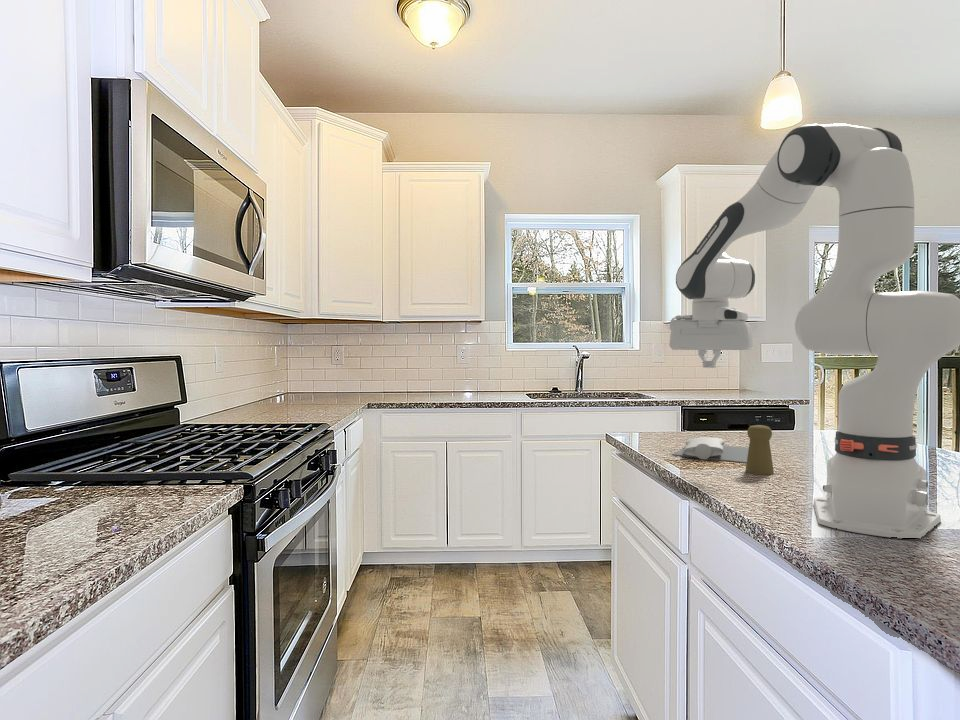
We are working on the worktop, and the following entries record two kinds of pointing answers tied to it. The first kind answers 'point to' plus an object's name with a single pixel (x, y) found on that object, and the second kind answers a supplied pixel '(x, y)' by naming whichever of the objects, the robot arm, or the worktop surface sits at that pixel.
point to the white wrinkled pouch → (704, 447)
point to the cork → (759, 451)
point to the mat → (725, 454)
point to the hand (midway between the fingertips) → (709, 367)
